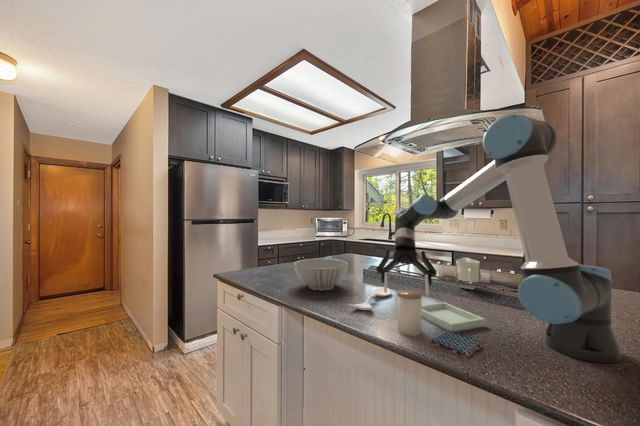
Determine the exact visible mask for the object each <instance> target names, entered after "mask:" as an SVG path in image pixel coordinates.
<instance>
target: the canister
mask: <svg viewBox="0 0 640 426" xmlns="http://www.w3.org/2000/svg"><path fill="white" fill-rule="evenodd" d="M396 293H397V294H396V295H397V331H398V333H400V334H402V335H405V336H410V337H411V336H412V337H417V336H420V335H422V332H423V330H422V327H423V326H422V323H423V322H422V321H423V320H422V319H423V318H422V305H423V304H422V303H423V302H422V300H423V299H422V296H423V293H422V292H421V291H419V290H415V289H400V290H398V291H397V292H396Z"/></svg>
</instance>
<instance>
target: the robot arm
mask: <svg viewBox="0 0 640 426" xmlns="http://www.w3.org/2000/svg"><path fill="white" fill-rule="evenodd" d="M557 142H558V134H557V131H556V129H555V128H554V127H553V125H551V124H550V123H548V122H546V121H544V120H540V119H539V120H538V119H535V118H531V117H528V116H526V115H524V114H514V113H513V114H511V113H510V114H506V115H503V116H501V117H499V118H497V119H496V120H494V121H493V122H492V123H491V124H490V125H489V126H488V128H487V129H486V131H485V132H484V135H483V139H482V146H483V147H482V148H483V150H484V152H485V153H486V154H487V155H488V156H489V157H491V158H493V160H491V162H490V163H488V164H487V165H486V166H484V167H483V168H481V169H480V170H479V171H477V172H476V173H474V174H473V175H472V176H471V177H469V178H468V179H466V180H465V181H463V182H462V183H461V184H459V185H458V186H457V187H455V188H454V189H453V190H451V191H450V192H448V193H447V194H445V196H443V197H441V198H440V199H435V198H434V197H433V196H431V195H429V194H427V193H424V194H421V195H420V196H419V197H417V198H416V199H414V200H413V202H412V203H411V204H410V205H409V206H408V207H407V208H402V209H398V210H397V212H396V213H395V216H394V217H395V218H394V251H390V250H389V249H387V250H386V253H385V256H384V257H383V259H382V260H381V261H380V262H379V264H378V266H377V267H376V274H378V275H381V278H380V281H381V283H382V284H383V287H384V293H387V288H388V273H389V272H390V271H391V270H393V269H394V268H395V267H396V266H398V264H402V265H411V264H412V265H413V266H414V267H416V268H417V269H418V270H419V271H420V272H421V273H422V274H423V275H424V284H425V296H430V287H432V284H433V282H432V281H433V280H432V278H435V277H437V270H436V269H435V267H434V266H433V265H432V263H431V261H430V260H429V259H428V257H427V255H426V251H424V250H423V251H421V252H417V251H416V248H417V247H416V236H415V235H416V231H415V228H416V227H417V226H418V225H419V224H421V223H422V222H423V221H425V220H437V219H438V220H449V219H453V218H455V217H457V215H458V213H459V211H460V210H461V209H463V208H464V207H466V206H468V205H469V204H471V203H473V202H474V201H475V200H478V199H479V198H481V196H483V195H486V193H488V192H489V191H491V190H492V189H494V188H496V187H497V186H499V185H500V184H502V183H503V182H505V181H506V185H507V189H508V193H509V197H510V202H511V206H512V210H513V212H514V218H515V223H516V226H517V229H518V233H519V238H520V241H521V247H522V250H523V254H524V258H525V260H524V262H523V263H522V265H521V266H520V271H521V276H522V278H523V279H522V281H521V282H520V284H519V285H518V287H517V296H518V299H519V301H520V303H521V305H522V307H523V308H524V309H525V311H526V312H527V313H528V314H530V315H531V316H533V317H534V318H536V319H537V320H539V321H541V322H544V323H547V324H548V326H547V327H546V329H545V332H544V342H545V343H546V345H548V346H549V347H550V348H551V349H553V350H555V351H558V352H559V353H561V354H564V355H566V356H570V357H572V358H576V359H580V360H583V361H588V362H593V363H597V364H598V363H599V364H600V363H601V364H617V363H619V362H620V361H621V360H622V348H621V347H620V344H619V342H618V340H617V337H616V335H615V333H614V330H613V328H612V284H613V279H612V273H611V271H610V270H609V269H608V268H605V267H602V266H601V267H600V266H594V265H588V264H587V265H586V264H579V263H578V262H577V261H575V260H574V259H572V258H570V257H569V255H568V251H567V248H566V245H565V240H564V237H563V233H562V230H561V227H560V226H561V225H560V222H559V219H558V215H557V212H556V208H555V205H554V204H555V203H554V200H553V196H552V193H551V190H550V186H549V183H548V180H547V179H548V178H547V175H546V172H545V168H544V165H545V164H546V162H547V161H548V159H549V156H550V155H551V154H552V153H553V152H554V150H555V148H556V146H557ZM392 257H394V258H393V259H392ZM390 258H391V259H392V260H391V261H390V262H389V260H390ZM418 258H419V259H420V260H421V261H422V263H421V262H420V261H419V260H418ZM388 262H389V263H388ZM387 263H388V264H387ZM423 264H424V265H423Z"/></svg>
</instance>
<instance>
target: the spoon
mask: <svg viewBox="0 0 640 426" xmlns="http://www.w3.org/2000/svg"><path fill="white" fill-rule="evenodd" d="M369 293H370V294H368V297H367V298H366V300H365V301H364V302H363V303H354V304H353V303H348V305H347V307H349V308H350V307H351V308H353V309H356V310H361V311H362V310H363V311H372V308H373V306H372V305H371V303H370V302H371V300H372V299H373V298H376V297H380V298H381V297H382V298H383V297H387V296H390V295H392V293H393V292H392V290H391V289H390V288H388V287H387V293H384V286H380V287H376V288H373V289H372V290H371V291H370V292H369Z"/></svg>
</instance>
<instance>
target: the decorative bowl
mask: <svg viewBox="0 0 640 426" xmlns="http://www.w3.org/2000/svg"><path fill="white" fill-rule="evenodd" d="M348 267H349V263H348V261H345V260H342V259H337V258H309V259H308V258H307V259H301V260H297V261H295V262H294V263H293V268H294V270H295V272H296V275H297V277H298V278H299V279H300V281H301V282H302V283H304V285H306V286H308V289H309V288H310V289H309V290H311V289H312V291H316V290H319V292H321V291H322V292H323V291H324V290H326V291H331V290H333V289H334V287H335V286H336V285H337V284H339V283H340V282H341V281H342V280H343V278H344V276H345V274H346V273H347V270H348ZM324 292H325V291H324Z"/></svg>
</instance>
